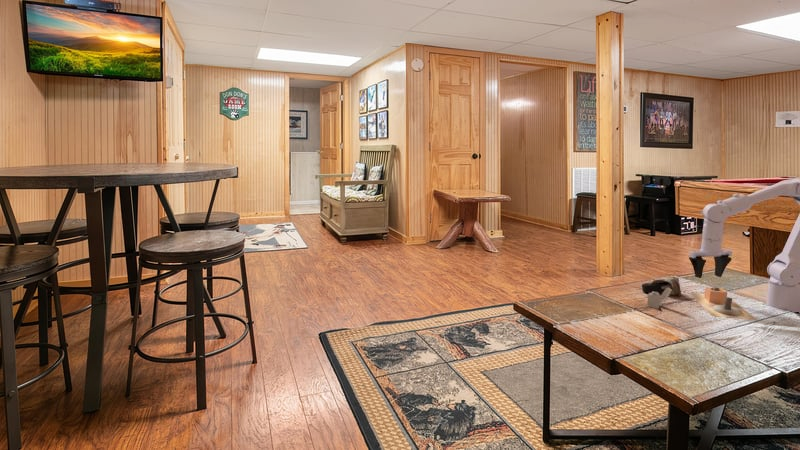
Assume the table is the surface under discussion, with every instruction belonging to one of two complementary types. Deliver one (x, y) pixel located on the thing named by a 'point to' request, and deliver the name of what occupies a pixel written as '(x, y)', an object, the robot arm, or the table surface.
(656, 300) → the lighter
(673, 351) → the table surface
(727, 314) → the board
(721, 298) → the collar
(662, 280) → the caster wheel
